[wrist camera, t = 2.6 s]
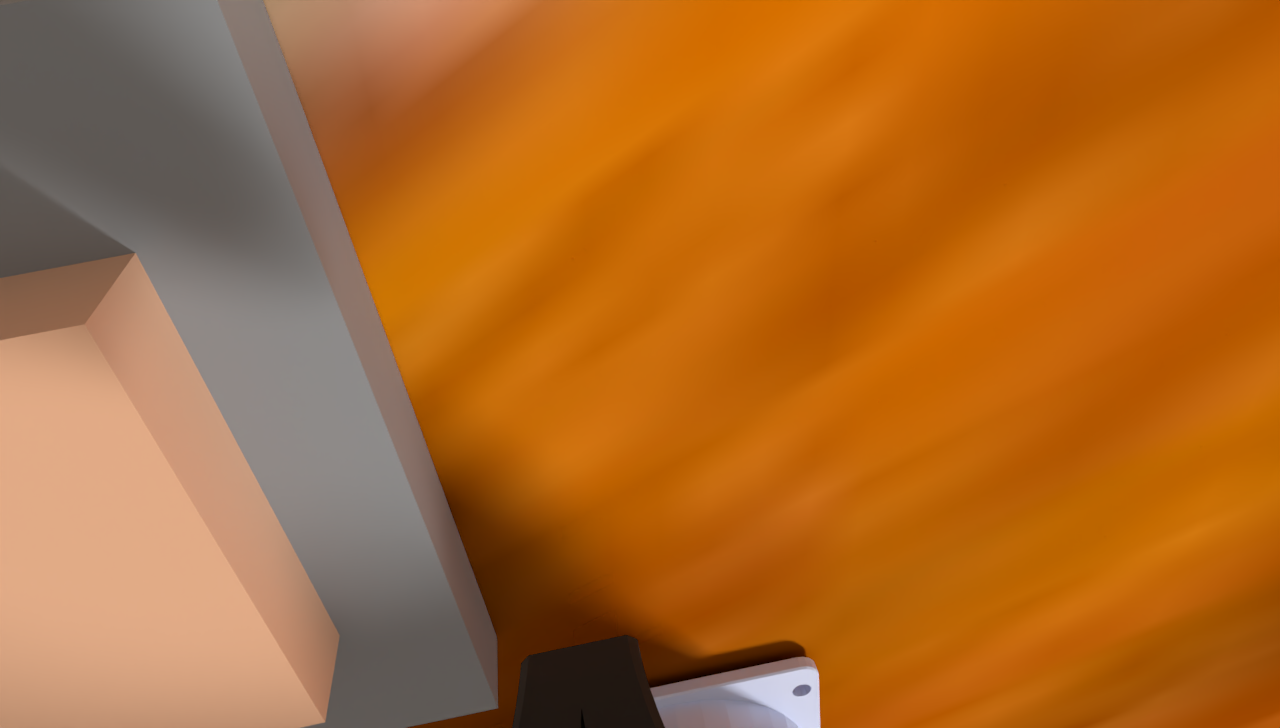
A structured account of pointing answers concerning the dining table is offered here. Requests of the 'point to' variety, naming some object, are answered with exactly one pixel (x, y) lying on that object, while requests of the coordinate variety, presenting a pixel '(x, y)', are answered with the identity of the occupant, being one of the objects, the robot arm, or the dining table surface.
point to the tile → (137, 528)
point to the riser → (251, 311)
